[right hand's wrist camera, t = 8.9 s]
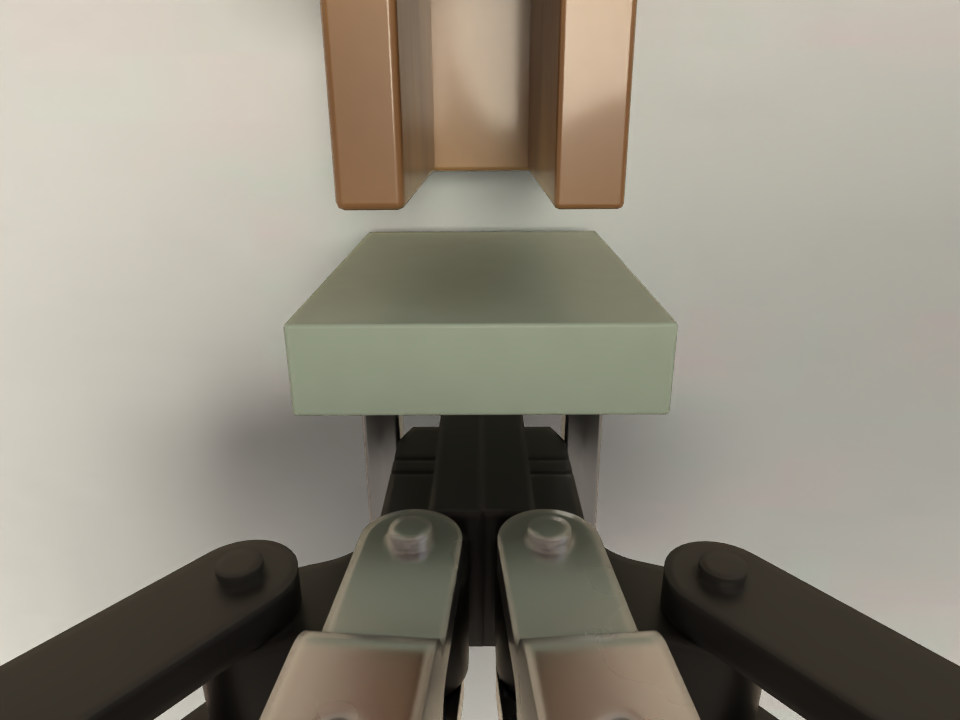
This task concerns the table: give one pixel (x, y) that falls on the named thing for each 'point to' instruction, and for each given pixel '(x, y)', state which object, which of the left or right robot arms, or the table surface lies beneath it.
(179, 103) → the table surface
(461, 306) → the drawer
